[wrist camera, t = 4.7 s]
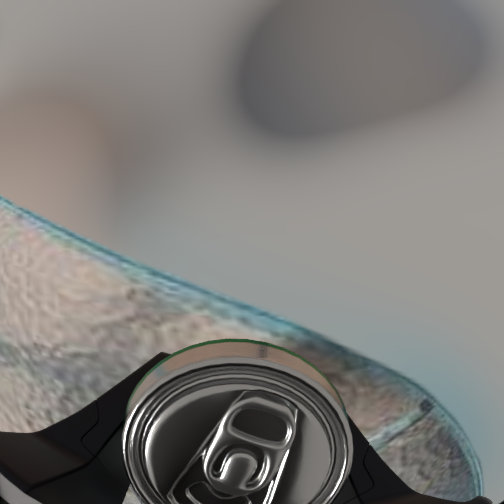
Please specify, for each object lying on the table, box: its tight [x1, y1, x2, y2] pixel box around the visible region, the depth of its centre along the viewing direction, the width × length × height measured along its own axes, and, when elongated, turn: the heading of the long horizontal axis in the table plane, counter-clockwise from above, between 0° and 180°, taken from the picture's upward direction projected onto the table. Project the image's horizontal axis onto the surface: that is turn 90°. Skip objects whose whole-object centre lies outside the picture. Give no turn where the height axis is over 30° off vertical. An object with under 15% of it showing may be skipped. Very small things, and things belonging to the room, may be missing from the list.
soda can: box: [121, 339, 353, 504], centre depth 9 cm, size 5×5×12 cm
